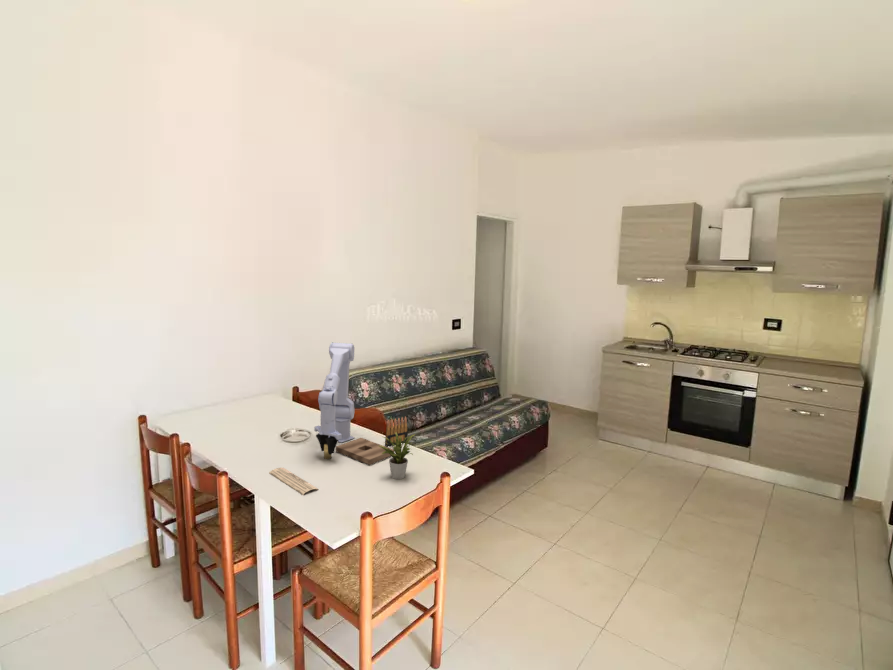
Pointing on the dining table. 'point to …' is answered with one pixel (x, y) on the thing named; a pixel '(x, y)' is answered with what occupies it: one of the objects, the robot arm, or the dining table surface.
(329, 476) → the dining table surface
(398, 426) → the ammunition clip
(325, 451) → the brass peg
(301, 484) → the wooden slat
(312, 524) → the dining table surface
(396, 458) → the house plant
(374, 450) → the walnut socket board
